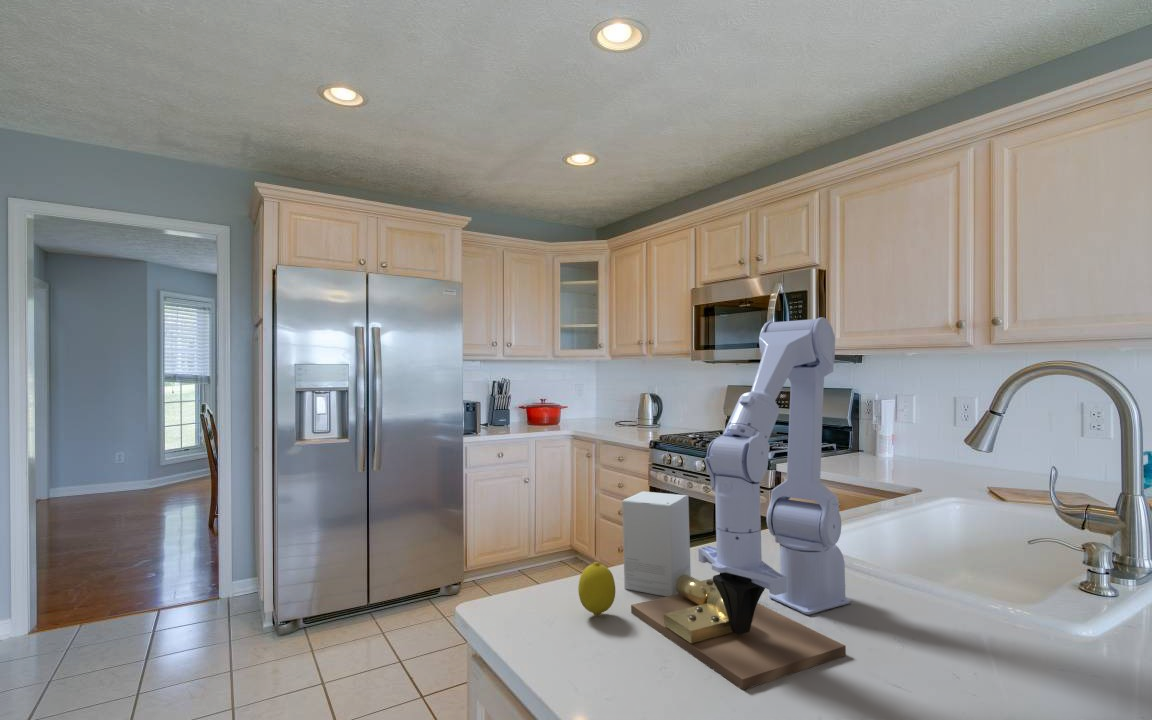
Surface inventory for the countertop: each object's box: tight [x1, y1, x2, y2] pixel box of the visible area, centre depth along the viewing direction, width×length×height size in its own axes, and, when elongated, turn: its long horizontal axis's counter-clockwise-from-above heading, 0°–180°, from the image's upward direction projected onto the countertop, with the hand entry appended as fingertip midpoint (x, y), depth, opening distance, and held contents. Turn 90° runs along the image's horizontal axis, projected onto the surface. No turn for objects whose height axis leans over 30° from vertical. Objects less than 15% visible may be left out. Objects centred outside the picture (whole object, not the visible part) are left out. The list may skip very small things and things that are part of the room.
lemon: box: [577, 561, 616, 617], centre depth 86 cm, size 6×6×8 cm
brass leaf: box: [664, 590, 754, 644], centre depth 79 cm, size 11×6×3 cm, turn 116°
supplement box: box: [621, 490, 692, 597], centre depth 98 cm, size 9×9×15 cm
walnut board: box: [630, 593, 847, 691], centre depth 80 cm, size 17×24×1 cm
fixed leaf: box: [676, 574, 718, 605], centre depth 89 cm, size 11×7×3 cm
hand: (740, 631), depth 76 cm, fingers closed
